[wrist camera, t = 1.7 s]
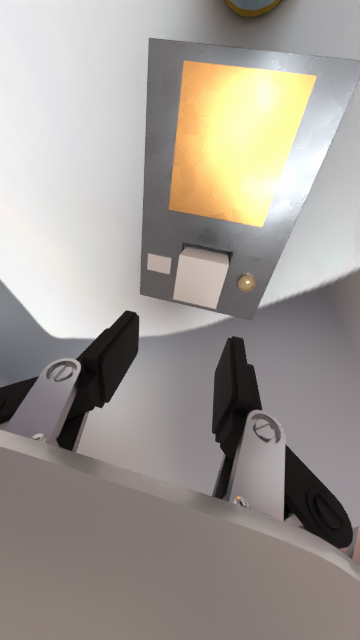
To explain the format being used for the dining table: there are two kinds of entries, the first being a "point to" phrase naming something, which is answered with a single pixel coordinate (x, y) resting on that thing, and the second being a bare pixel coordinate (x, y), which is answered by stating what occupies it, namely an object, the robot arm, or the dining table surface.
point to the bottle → (251, 6)
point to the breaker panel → (232, 158)
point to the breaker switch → (200, 276)
